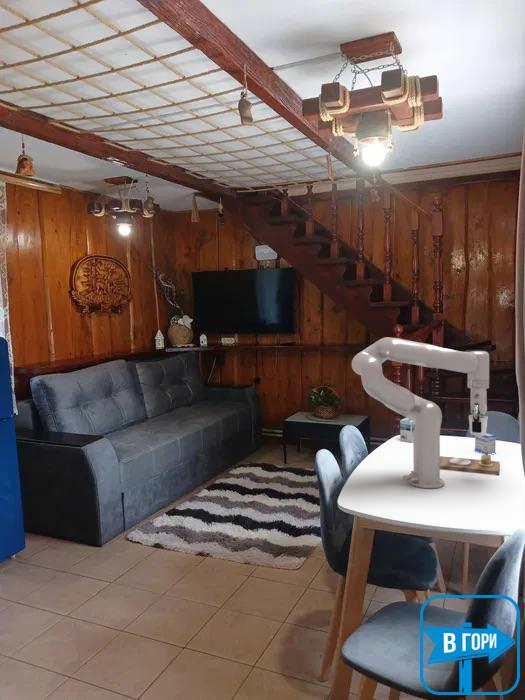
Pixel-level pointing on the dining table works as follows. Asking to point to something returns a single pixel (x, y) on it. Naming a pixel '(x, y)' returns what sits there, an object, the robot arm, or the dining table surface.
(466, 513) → the dining table surface
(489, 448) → the medicine box
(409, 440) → the light bulb box
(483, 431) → the white short cylinder
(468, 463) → the fitting board
